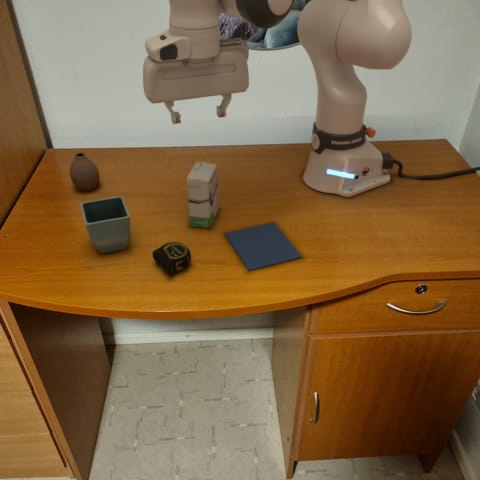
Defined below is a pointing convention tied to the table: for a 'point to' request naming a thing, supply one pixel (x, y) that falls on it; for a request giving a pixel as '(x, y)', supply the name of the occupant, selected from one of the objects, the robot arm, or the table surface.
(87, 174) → the vase
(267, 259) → the cloth
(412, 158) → the table surface
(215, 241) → the table surface
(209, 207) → the ink box
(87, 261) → the table surface
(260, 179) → the table surface
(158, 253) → the tape measure
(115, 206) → the flower pot
